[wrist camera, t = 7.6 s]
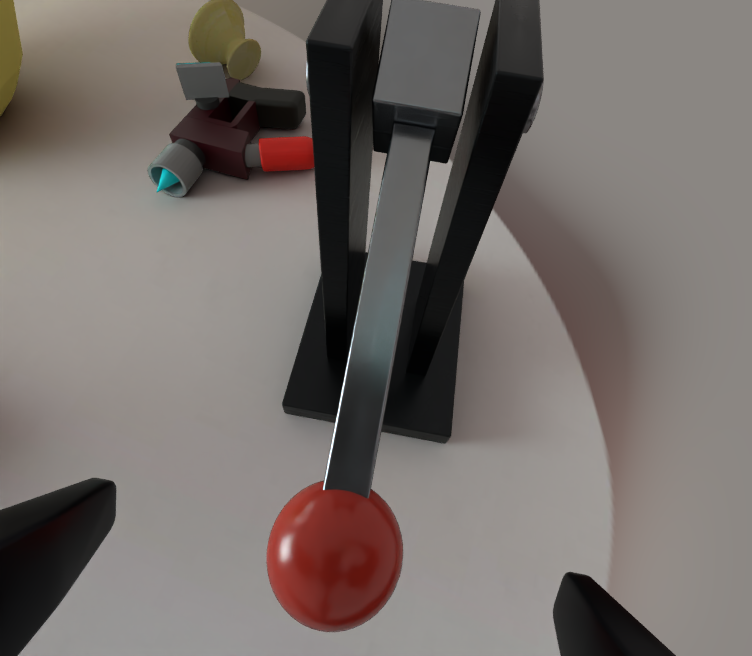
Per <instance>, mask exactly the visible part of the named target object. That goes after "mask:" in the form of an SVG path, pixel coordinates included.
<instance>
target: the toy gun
mask: <svg viewBox="0 0 752 656" xmlns="http://www.w3.org/2000/svg"><path fill="white" fill-rule="evenodd" d="M176 70H177V73H178V76H179V79H180V82H181V85H182V88H183V92H184V95H185V98H186V100H194V99H195V101H196V106H195V107H194V108H193V109H192V110H191V111H190V112H189V113H188V114H187V116H185V117H184V118H183V120H182V121H181V122H180V123H179V124H178V125H177V126H176V127H175V128H174V129H173V131H172V132H171V133H170V134H169V135H170V137H171V140H172V143H171V144H169V145H167V146H166V147H165V149H164V150H163V151H162V152H161V153H160V154H159V155H158V156H157V158H156V159H155V160H154V161H153V162H152V163H151V164H150V165H149V167H148V175H149V177H150V179H151V180H152V182H153V183H154V184H155V185H156V186H157V187H158V189H157V192H159V191H161V190H162V191H163V192H165V193H167V194H169V195H171V196H174V197H182V196H184V195H185V194H186V193H187V191H188V190H189V189H190V187H191V186H192V185H193V184H194V182H195V181H196V180H197V178H198V177H199V176H200V175H201V173H202V168H206V169H210V170H213V171H217V172H221V173H224V174H228V175H232V176H236V177H239V178H243V179H247V180H248V177H249V173H250V170H251V167H262V169H263V171H265V172H268V171H288V170H307V169H312V168H314V155H313V140H312V138H310V137H306V136H303V137H279V138H260V139H259V143H258V144H251V140H252V139H253V137H254V136H255V134H256V133H257V132H258V130H259V129H260V127H261V126H262V127H275V128H287V129H295V128H297V127H298V126H299V125H300V123H301V122H302V120H303V118H304V117H305V115H306V103H305V95H304V93H303V92H302V91H296V90H284V89H272V88H261V87H257V86H252V85H248V84H244V83H241V82H240V80H239V79H235V78H227V79H225V76H224V71H223V67H222V65H221V63H220V62H214V63H210V62H202V63H181V64H176Z"/></svg>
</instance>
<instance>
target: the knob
mask: <svg viewBox="0 0 752 656" xmlns="http://www.w3.org/2000/svg"><path fill="white" fill-rule="evenodd" d="M188 40H189V48H190V51H191V53H192V54H193V56H194V57H195V58H196V59H197V60H198V61H199V62H200V63H202V62H210V63H214V62H220V63H221V65H223V64H227V70H228V73H229V75H230V76H231V77H232V78H235V79H239V80H242V79H244V78H246V77H248V76H249V75H250V74H251V73H252V72H253V71H254V70H255V69H256V67H257V65H258V63H259V61H260V57H261V48H260V45H259V43H258V42H257V41H256V40H253V39H245V29H244V17H243V13H242V11H241V9H240V7H239V6H238V5H237V4H236V3H235V2H234V1H233V0H211V1H209V2H207V3H206V4H204V5H203V6H202V7H201V8H200V9H199V11H198V12H197V13H196V15H195V17H194V18H193V21H192V23H191V26H190V30H189V37H188Z"/></svg>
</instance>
